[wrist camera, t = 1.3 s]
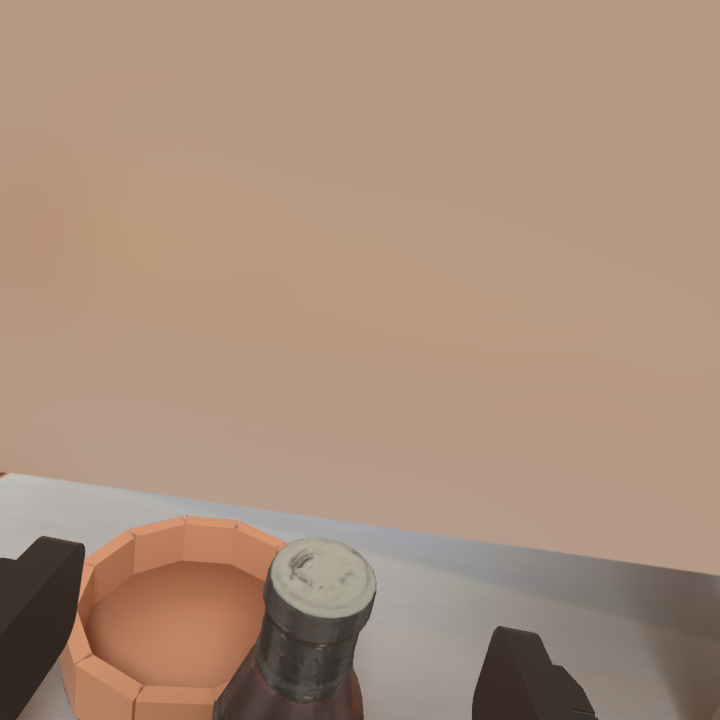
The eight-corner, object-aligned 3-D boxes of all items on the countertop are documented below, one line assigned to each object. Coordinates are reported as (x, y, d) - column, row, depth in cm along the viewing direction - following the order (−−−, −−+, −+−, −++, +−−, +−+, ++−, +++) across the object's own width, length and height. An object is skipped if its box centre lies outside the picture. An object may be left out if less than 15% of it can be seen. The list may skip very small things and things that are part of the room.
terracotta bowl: (304, 570, 50) (312, 527, 48) (308, 762, 35) (321, 708, 34) (103, 555, 47) (105, 508, 46) (18, 755, 33) (16, 697, 31)
